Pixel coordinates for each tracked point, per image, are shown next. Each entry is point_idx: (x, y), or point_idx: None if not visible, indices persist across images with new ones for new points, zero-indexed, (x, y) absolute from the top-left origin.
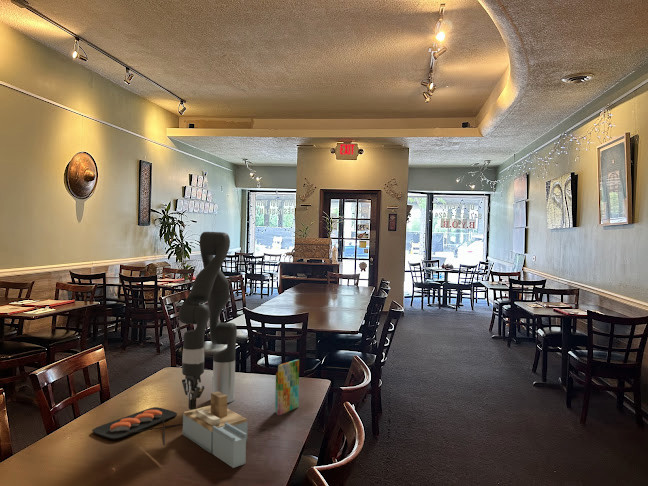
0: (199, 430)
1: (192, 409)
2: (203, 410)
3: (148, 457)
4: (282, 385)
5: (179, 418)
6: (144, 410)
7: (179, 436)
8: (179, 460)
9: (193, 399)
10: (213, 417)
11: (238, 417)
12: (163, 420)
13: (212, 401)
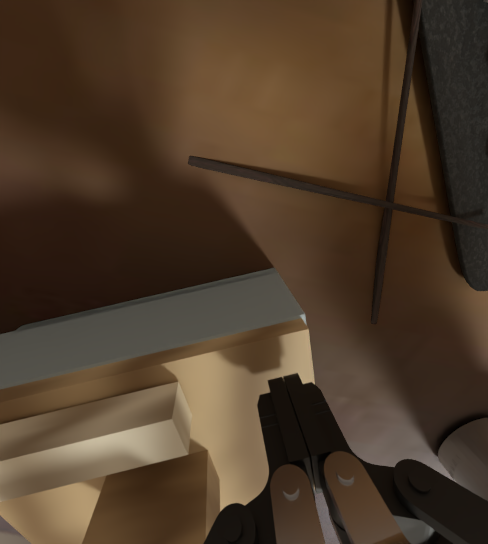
0: (91, 344)
1: (269, 388)
2: (144, 457)
3: (51, 26)
4: None
5: (441, 290)
6: None
7: (259, 250)
8: None
9: (268, 485)
10: None
11: (78, 536)
12: (446, 217)
13: None
